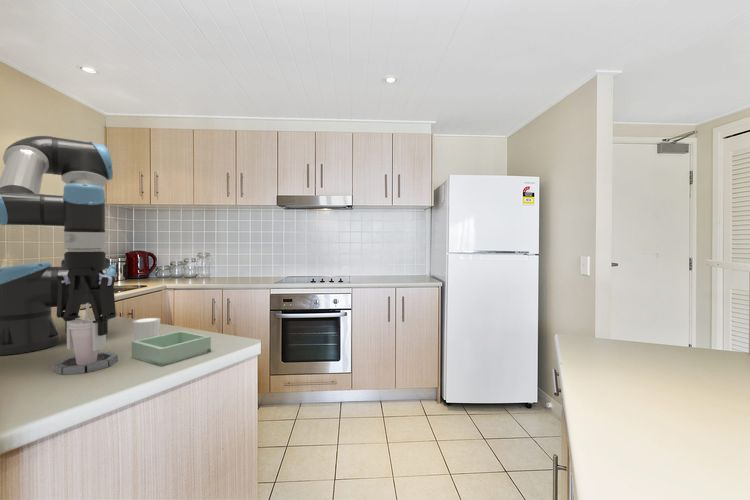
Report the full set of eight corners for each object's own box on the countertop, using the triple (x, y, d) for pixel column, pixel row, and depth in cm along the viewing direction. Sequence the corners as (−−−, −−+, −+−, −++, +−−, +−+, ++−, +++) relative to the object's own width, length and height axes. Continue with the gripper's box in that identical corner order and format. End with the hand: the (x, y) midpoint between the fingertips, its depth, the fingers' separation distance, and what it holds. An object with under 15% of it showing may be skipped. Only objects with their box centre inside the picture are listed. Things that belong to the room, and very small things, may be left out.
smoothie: (108, 357, 87) (108, 300, 86) (95, 366, 81) (95, 305, 80) (78, 358, 85) (77, 301, 85) (62, 368, 79) (61, 306, 79)
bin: (131, 357, 89) (131, 341, 89) (181, 344, 100) (181, 330, 100) (160, 366, 82) (160, 349, 82) (210, 351, 94) (210, 336, 94)
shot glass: (150, 347, 97) (150, 322, 97) (126, 347, 98) (126, 322, 97) (166, 340, 104) (165, 317, 104) (143, 340, 104) (143, 317, 104)
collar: (47, 368, 81) (47, 362, 81) (102, 355, 90) (102, 349, 90) (67, 377, 75) (67, 370, 75) (124, 362, 85) (124, 356, 85)
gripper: (33, 250, 80) (35, 350, 81) (106, 251, 77) (107, 355, 78) (67, 249, 88) (68, 341, 88) (134, 250, 84) (135, 345, 85)
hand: (86, 347), depth 83 cm, fingers closed on smoothie, 6 cm apart
